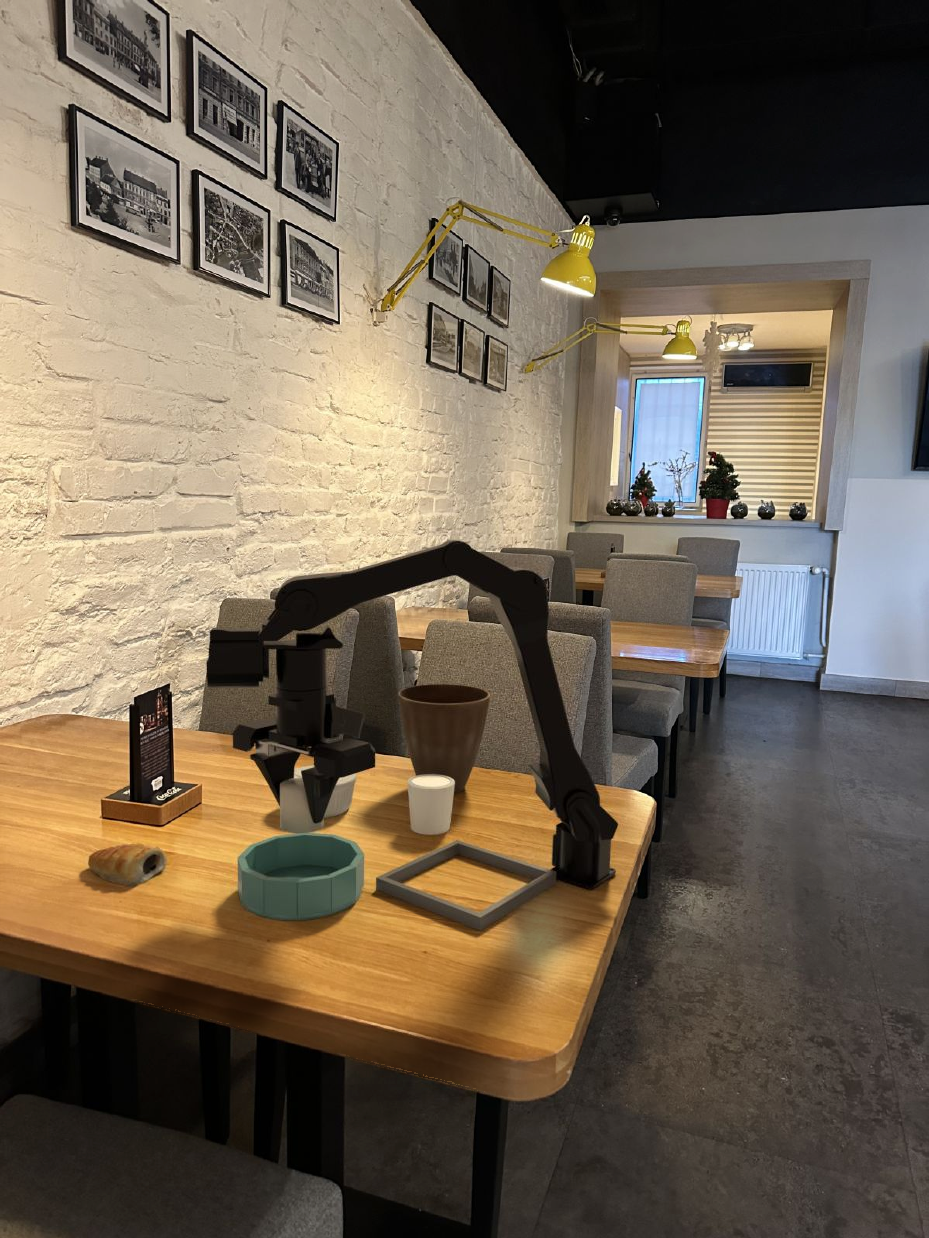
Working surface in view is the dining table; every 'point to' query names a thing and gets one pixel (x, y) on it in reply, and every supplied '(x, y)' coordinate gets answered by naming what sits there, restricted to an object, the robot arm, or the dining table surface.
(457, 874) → the dining table surface
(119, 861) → the pastry
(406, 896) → the gray square frame
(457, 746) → the plant pot
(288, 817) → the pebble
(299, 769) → the ramekin
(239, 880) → the bowl
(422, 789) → the white cup
